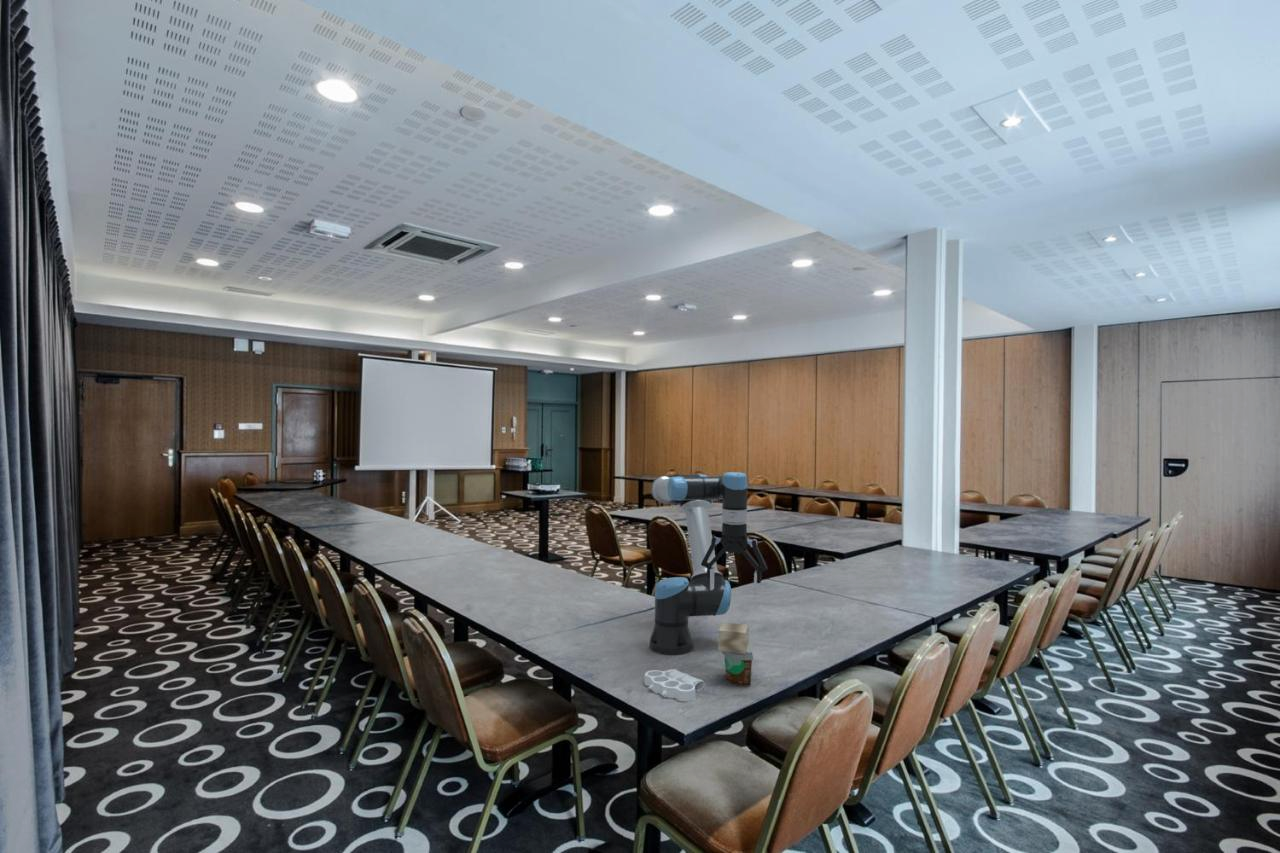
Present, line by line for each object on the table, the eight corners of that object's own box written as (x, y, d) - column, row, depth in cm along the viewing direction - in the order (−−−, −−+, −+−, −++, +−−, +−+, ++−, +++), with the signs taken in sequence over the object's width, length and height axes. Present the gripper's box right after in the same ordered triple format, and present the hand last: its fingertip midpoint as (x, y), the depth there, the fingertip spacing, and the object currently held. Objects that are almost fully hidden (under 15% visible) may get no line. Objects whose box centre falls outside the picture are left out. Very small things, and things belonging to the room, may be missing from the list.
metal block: (718, 650, 179) (718, 630, 180) (722, 642, 187) (722, 622, 187) (745, 653, 177) (745, 632, 177) (748, 644, 185) (748, 624, 185)
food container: (714, 674, 187) (714, 641, 187) (732, 671, 189) (732, 639, 189) (734, 690, 176) (734, 655, 176) (753, 687, 178) (753, 652, 178)
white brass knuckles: (713, 693, 175) (677, 708, 165) (669, 674, 188) (633, 687, 178) (713, 681, 175) (677, 695, 165) (669, 663, 188) (633, 675, 178)
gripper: (692, 521, 188) (691, 590, 188) (774, 527, 180) (773, 598, 180) (697, 518, 196) (697, 584, 196) (776, 523, 188) (776, 591, 188)
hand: (733, 591), depth 188 cm, fingers open, 13 cm apart
